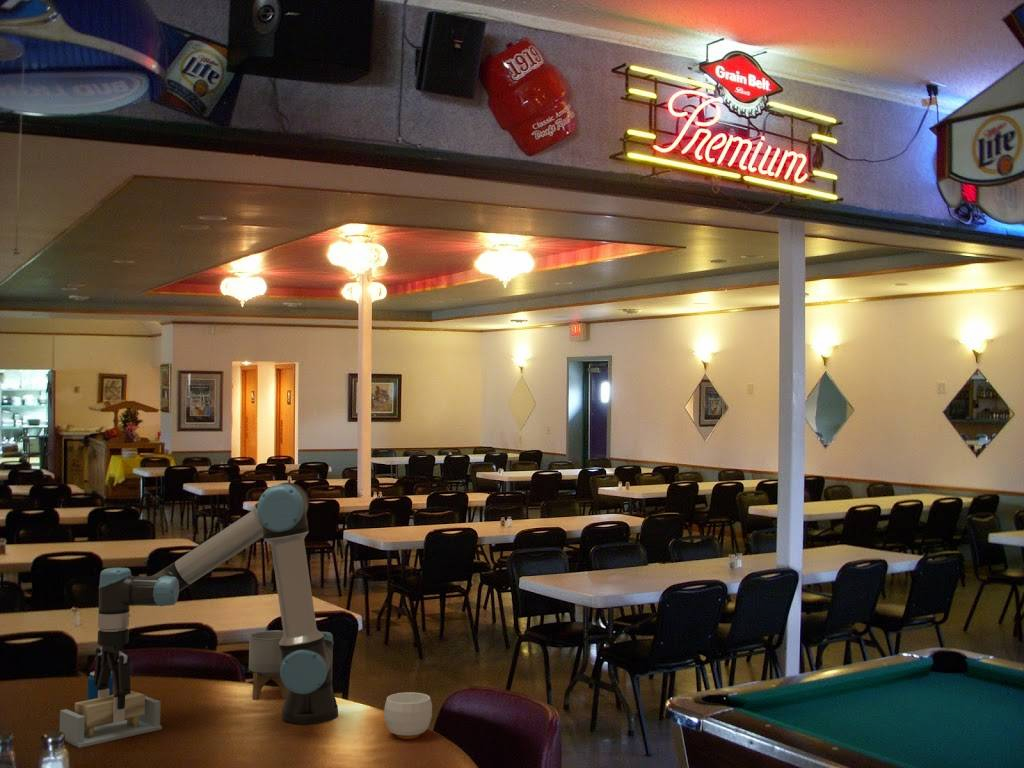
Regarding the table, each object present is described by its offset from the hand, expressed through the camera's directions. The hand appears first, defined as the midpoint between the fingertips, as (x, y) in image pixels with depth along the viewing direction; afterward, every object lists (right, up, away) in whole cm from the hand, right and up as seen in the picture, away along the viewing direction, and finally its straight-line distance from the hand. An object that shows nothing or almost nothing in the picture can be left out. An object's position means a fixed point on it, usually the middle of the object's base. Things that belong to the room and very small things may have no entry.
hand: (110, 718), depth 266 cm
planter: (+32, -6, +40) cm, 51 cm away
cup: (+76, -5, +1) cm, 77 cm away
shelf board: (0, 0, 0) cm, 0 cm away
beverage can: (-9, -5, +14) cm, 17 cm away
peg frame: (0, -4, 0) cm, 4 cm away
